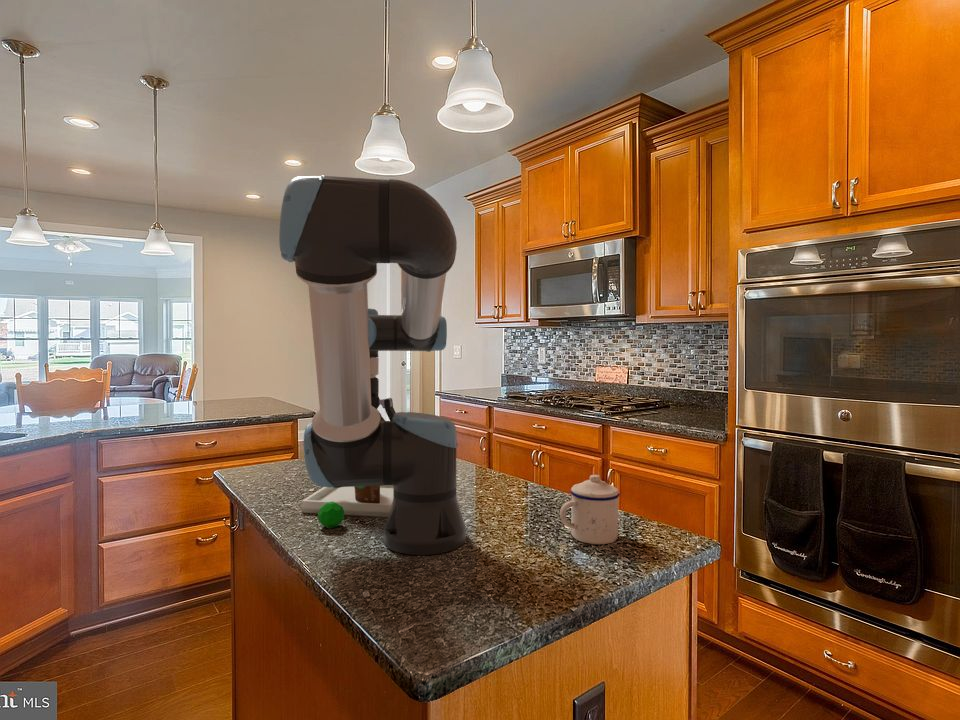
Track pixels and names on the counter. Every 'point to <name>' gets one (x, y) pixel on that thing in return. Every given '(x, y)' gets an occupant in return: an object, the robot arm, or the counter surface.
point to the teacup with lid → (593, 511)
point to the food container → (367, 494)
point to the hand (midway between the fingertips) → (361, 469)
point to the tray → (349, 501)
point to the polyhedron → (331, 514)
